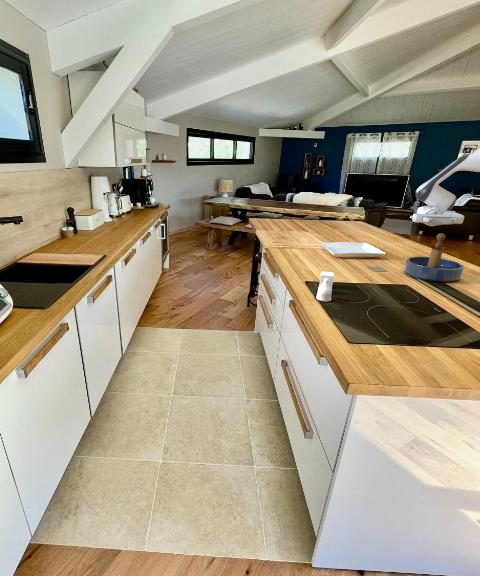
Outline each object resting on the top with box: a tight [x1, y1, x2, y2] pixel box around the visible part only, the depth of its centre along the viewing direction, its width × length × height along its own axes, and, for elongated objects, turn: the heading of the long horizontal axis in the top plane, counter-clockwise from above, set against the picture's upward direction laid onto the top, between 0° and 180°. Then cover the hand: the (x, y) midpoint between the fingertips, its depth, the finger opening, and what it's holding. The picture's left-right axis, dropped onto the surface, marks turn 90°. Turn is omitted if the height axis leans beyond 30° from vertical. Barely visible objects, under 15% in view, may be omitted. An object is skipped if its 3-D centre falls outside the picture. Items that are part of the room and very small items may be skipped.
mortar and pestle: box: [425, 232, 446, 269], centre depth 138 cm, size 7×6×18 cm
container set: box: [315, 271, 335, 302], centre depth 123 cm, size 20×5×6 cm, turn 156°
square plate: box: [319, 241, 387, 259], centre depth 179 cm, size 27×27×4 cm
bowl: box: [403, 256, 465, 283], centre depth 140 cm, size 21×21×6 cm
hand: (442, 220), depth 147 cm, fingers open, 8 cm apart
